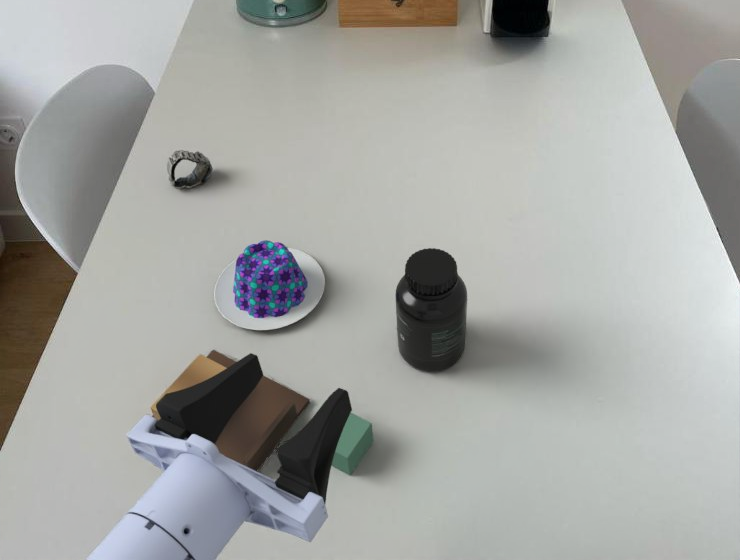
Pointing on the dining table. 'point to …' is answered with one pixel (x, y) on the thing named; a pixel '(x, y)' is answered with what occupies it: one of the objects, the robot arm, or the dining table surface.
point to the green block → (352, 443)
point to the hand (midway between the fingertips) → (299, 380)
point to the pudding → (269, 287)
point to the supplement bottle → (431, 311)
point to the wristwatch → (197, 175)
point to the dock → (246, 412)
